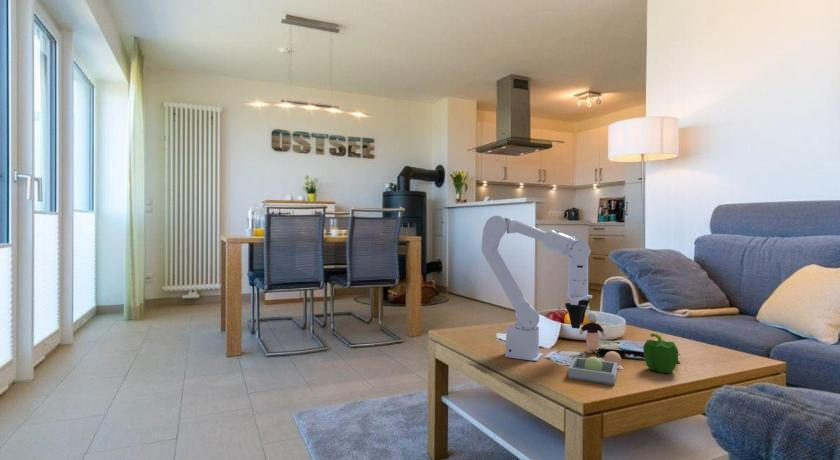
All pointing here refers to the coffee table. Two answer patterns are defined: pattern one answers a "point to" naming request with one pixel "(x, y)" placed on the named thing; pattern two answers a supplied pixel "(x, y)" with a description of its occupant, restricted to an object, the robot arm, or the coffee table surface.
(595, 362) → the olive ball
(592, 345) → the grandmother figurine
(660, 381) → the coffee table surface
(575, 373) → the dish
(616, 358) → the terracotta ball
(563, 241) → the robot arm
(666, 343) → the bell pepper
